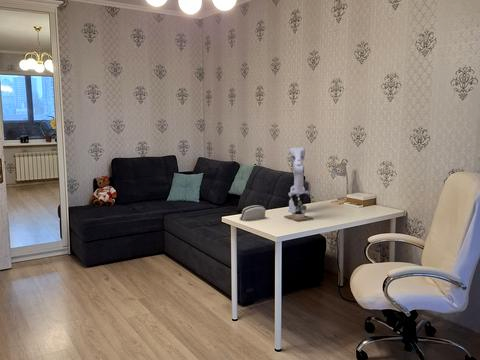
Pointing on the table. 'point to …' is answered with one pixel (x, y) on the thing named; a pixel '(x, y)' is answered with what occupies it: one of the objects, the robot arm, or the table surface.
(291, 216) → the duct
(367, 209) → the table surface
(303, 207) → the elbow
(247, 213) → the grey napkin holder
